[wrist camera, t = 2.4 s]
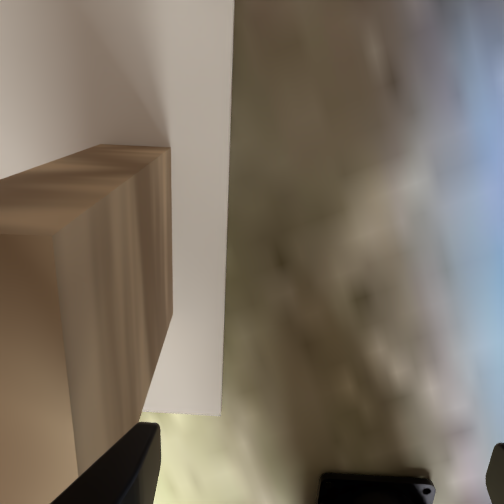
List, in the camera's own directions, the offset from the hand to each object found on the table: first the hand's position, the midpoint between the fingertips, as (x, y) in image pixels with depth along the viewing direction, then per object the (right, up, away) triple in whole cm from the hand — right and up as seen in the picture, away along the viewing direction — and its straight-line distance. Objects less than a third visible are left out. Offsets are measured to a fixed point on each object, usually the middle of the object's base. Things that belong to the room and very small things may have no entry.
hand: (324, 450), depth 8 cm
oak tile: (-7, +5, +12) cm, 14 cm away
